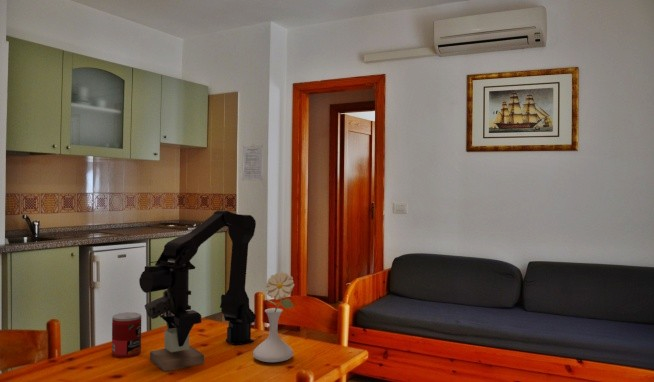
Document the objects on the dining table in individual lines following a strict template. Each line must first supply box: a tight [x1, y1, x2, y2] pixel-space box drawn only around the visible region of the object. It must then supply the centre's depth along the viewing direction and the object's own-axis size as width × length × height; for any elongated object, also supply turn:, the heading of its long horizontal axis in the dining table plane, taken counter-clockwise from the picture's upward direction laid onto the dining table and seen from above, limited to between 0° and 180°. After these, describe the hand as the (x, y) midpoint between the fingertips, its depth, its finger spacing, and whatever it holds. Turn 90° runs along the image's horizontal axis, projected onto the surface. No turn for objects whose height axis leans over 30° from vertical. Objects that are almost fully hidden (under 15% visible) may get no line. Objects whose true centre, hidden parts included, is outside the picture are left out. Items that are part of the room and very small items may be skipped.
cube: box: [164, 328, 190, 352], centre depth 141 cm, size 5×5×5 cm
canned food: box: [111, 311, 142, 359], centre depth 147 cm, size 8×8×11 cm
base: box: [149, 344, 205, 373], centre depth 141 cm, size 11×11×2 cm
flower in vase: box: [252, 271, 295, 363], centre depth 144 cm, size 13×11×25 cm
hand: (177, 343), depth 141 cm, fingers closed on cube, 5 cm apart
